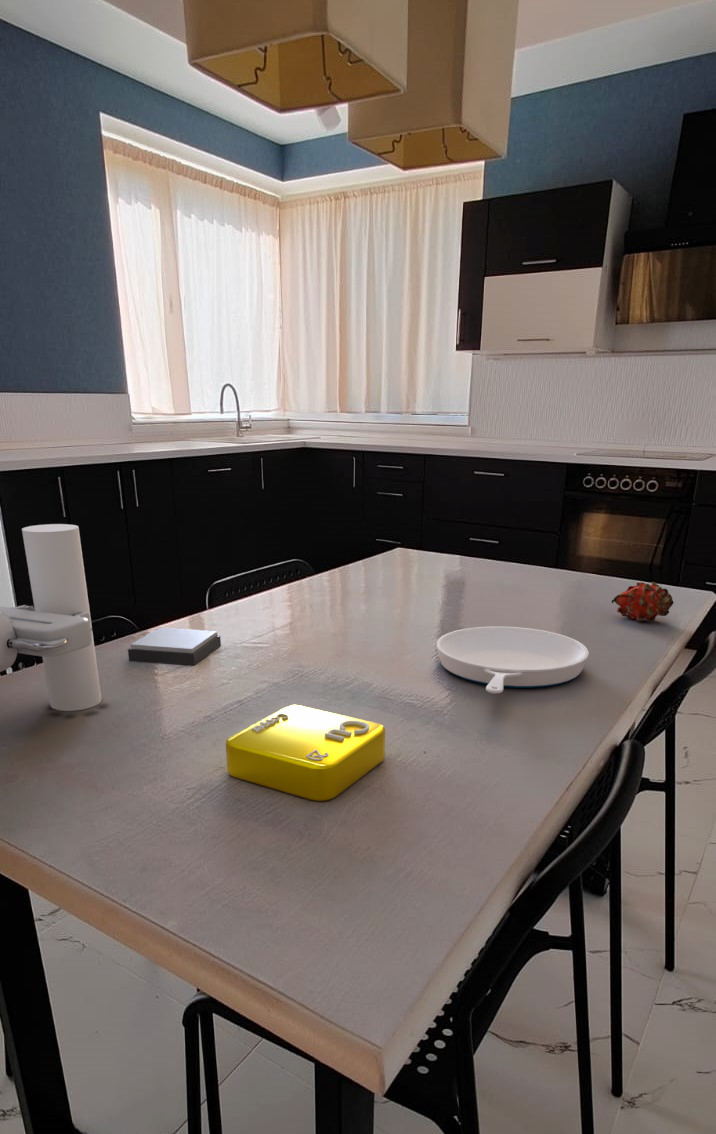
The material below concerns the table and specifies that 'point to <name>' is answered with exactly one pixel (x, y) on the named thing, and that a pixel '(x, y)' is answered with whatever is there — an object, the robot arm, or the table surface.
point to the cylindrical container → (62, 610)
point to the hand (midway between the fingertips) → (57, 614)
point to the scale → (174, 646)
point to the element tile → (306, 752)
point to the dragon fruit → (644, 602)
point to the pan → (511, 656)
